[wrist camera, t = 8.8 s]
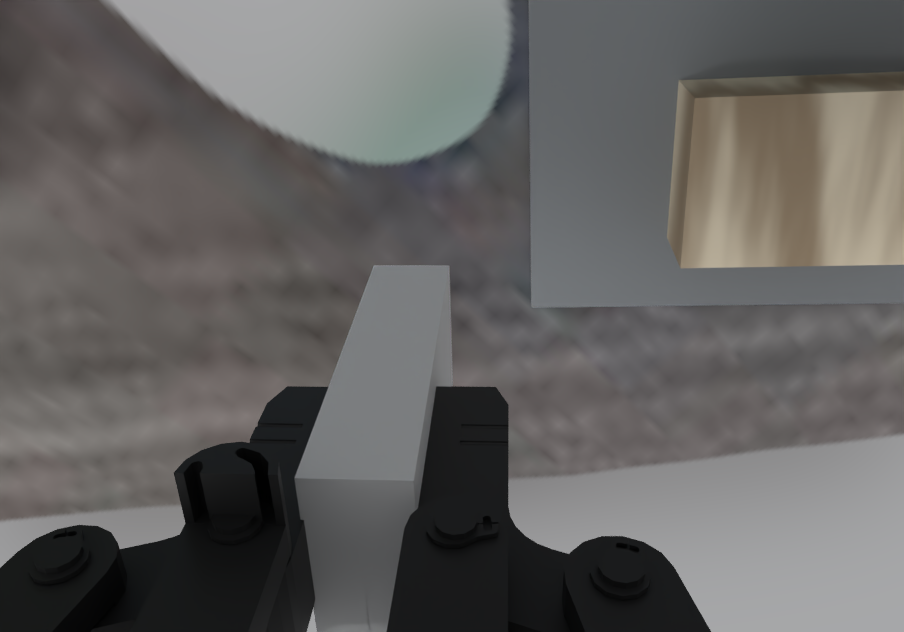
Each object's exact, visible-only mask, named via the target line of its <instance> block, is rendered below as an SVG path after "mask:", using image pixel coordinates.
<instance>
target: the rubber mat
mask: <svg viewBox="0 0 904 632" xmlns="http://www.w3.org/2000/svg"><path fill="white" fill-rule="evenodd" d="M528 8H529V120H530V233H531V308H544V307H629V306H713V305H797V304H881V303H904V265H855V266H793V267H732V268H680V266H679V264H678V262H677V259H676V257H675V255H674V252H673V250H672V248H671V246H670V243H669V241H668V239H667V230H668V217H669V204H670V190H671V177H672V163H673V150H674V137H675V123H676V110H677V96H678V83H679V80H697V79H723V78H749V77H775V76H801V75H827V74H853V73H879V72H904V0H528Z"/></svg>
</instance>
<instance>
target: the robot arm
mask: <svg viewBox="0 0 904 632" xmlns="http://www.w3.org/2000/svg"><path fill="white" fill-rule="evenodd" d="M452 385H453V374H452V340H451V307H450V273H449V266H433V265H374V266H373V269H372V272H371V275H370V277H369V280H368V283H367V285H366V288H365V291H364V293H363V296H362V299H361V301H360V304H359V307H358V309H357V312H356V315H355V317H354V320H353V323H352V325H351V328H350V331H349V333H348V336H347V339H346V341H345V344H344V347H343V349H342V352H341V355H340V358H339V360H338V363H337V366H336V368H335V371H334V374H333V376H332V379H331V382H330V384H329V387H286V388H285V389H284V390H283V391H282V392H280V393H279V394H278V395H277V396H276V397H274V398H273V399H272V400H271V401H270V402H268V403H267V405H266V407H265V409H264V411H263V413H262V415H261V417H260V419H259V421H258V427H256V428H255V430H254V432H253V434H252V436H251V438H250V443H246V442H235V443H225V444H219V445H216V446H213V447H210V448H207V449H204V450H201V451H200V452H198V453H196V454H195V455H193V456H191V457H190V458H188V459H186V460H185V461H184V462H183V463H182V464H181V465H180V466H179V468H178V469H177V470H176V471H175V472H174V476H175V480H176V484H177V489H178V493H179V497H180V501H181V506H182V510H183V514H184V518H185V523H186V524H185V526H184V528H183V530H182V532H181V533H180V535H177V536H175V537H172V538H168V539H165V540H162V541H158V542H154V543H148V544H143V545H139V546H134V547H129V548H125V549H119V546H118V543H117V541H116V540H115V538H114V536H113V535H112V533H111V532H109V531H107V530H105V529H103V528H100V527H98V526H86V525H77V526H72V527H67V528H62V529H57V530H55V531H53V532H50V533H48V534H46V535H43V536H41V537H39V538H36V539H35V540H33V541H32V542H31V543H29V544H28V545H27V546H25V547H24V548H22V549H21V550H20V551H18V552H17V553H16V554H15V555H14V556H13V557H12V558H11V559H9V560H8V561H7V562H6V563H5V564H4V565H3V566H2V567H1V568H0V632H306V631H307V628H308V624H309V621H310V617H311V613H312V610H313V607H314V614H315V621H316V627H317V632H711V631H710V629H709V627H708V626H707V624H706V622H705V620H704V619H703V617H702V615H701V613H700V612H699V610H698V608H697V607H696V605H695V603H694V601H693V600H692V598H691V596H690V594H689V593H688V591H687V589H686V587H685V586H684V584H683V582H682V580H681V579H680V577H679V575H678V573H677V572H676V570H675V568H674V567H673V566H672V564H671V563H670V562H669V561H668V560H667V559H666V558H665V556H664V555H663V554H662V553H661V552H659V551H657V550H656V549H654V548H653V547H651V546H649V545H648V544H646V543H644V542H642V541H637V540H634V539H630V538H627V537H623V536H613V537H612V536H611V537H610V536H605V537H604V536H601V537H598V538H595V539H592V540H588V541H585V542H583V543H582V544H580V545H579V546H578V547H577V548H576V549H574V550H573V551H572V552H571V553H570V554H566V553H562V552H559V551H556V550H552V549H550V548H547V547H544V546H541V545H539V544H537V543H535V542H534V541H532V540H531V539H529V538H527V537H526V536H525V535H524V534H523V533H522V532H520V530H518V528H516V526H515V525H514V523H513V521H512V519H511V517H510V513H509V508H508V404H507V402H506V401H505V399H504V398H503V397H502V395H501V394H500V392H499V391H498V389H497V388H496V387H452Z"/></svg>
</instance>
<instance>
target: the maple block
mask: <svg viewBox="0 0 904 632" xmlns="http://www.w3.org/2000/svg"><path fill="white" fill-rule="evenodd" d="M667 239H668V241H669V243H670V246H671V248H672V250H673V252H674V255H675V257H676V259H677V262H678V264H679V266H680V268H732V267H793V266H855V265H904V72H879V73H853V74H827V75H801V76H775V77H749V78H723V79H697V80H679V83H678V96H677V110H676V123H675V137H674V150H673V163H672V177H671V190H670V204H669V217H668V230H667Z"/></svg>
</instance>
